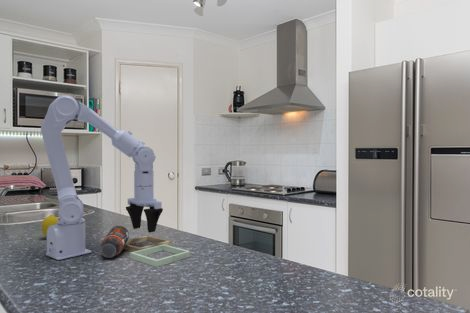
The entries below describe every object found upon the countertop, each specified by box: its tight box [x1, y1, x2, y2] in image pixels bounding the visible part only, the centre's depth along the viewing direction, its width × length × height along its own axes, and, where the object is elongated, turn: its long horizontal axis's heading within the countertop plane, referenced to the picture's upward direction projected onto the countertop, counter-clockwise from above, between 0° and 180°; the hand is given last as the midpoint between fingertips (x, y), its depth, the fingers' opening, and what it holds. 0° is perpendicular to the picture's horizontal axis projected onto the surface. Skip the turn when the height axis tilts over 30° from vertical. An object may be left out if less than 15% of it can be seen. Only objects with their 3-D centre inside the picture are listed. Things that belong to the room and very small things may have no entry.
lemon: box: [41, 214, 60, 238], centre depth 116 cm, size 6×6×8 cm
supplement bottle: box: [100, 225, 130, 259], centre depth 98 cm, size 6×6×11 cm
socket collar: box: [122, 235, 172, 253], centre depth 107 cm, size 12×12×2 cm
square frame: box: [129, 244, 191, 268], centre depth 95 cm, size 12×12×2 cm
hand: (144, 230), depth 107 cm, fingers open, 7 cm apart
